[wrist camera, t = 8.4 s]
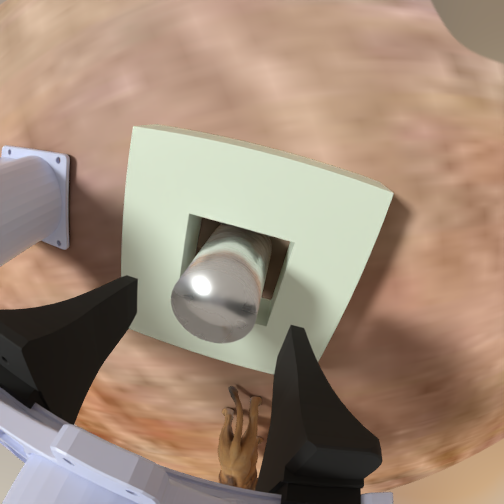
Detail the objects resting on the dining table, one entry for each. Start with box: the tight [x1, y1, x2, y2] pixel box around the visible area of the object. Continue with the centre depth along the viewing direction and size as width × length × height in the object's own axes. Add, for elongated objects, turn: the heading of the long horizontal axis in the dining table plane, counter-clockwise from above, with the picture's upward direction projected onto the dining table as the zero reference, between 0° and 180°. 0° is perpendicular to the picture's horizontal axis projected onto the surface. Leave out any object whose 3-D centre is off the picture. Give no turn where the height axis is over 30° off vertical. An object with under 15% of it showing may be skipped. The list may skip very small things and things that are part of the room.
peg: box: [171, 223, 272, 343], centre depth 16 cm, size 4×4×7 cm
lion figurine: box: [218, 386, 263, 491], centre depth 24 cm, size 15×5×9 cm, turn 10°
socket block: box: [121, 124, 394, 375], centre depth 18 cm, size 14×14×3 cm
